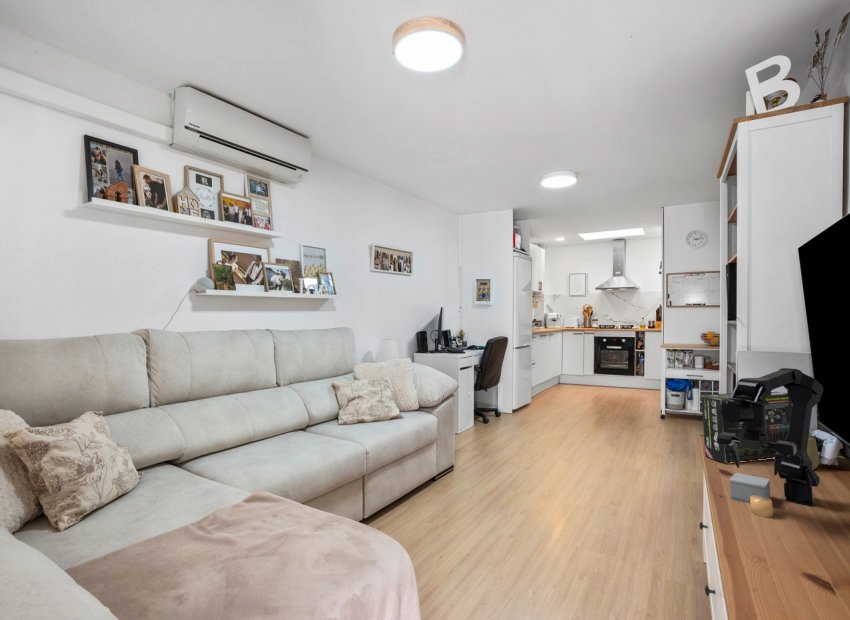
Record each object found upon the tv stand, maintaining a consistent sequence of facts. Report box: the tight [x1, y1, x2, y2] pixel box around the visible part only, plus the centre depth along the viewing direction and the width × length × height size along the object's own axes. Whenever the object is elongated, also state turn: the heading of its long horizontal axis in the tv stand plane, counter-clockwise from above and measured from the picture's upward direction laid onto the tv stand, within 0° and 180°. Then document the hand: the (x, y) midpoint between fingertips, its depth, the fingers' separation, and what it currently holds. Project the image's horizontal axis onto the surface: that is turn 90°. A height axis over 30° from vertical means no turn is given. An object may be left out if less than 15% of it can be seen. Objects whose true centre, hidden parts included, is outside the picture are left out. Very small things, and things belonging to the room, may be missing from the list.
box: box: [729, 481, 772, 504], centre depth 139 cm, size 9×9×6 cm
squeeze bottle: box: [807, 430, 820, 470], centre depth 165 cm, size 8×8×18 cm
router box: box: [700, 391, 792, 464], centre depth 180 cm, size 36×11×27 cm, turn 99°
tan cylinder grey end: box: [750, 495, 774, 519], centre depth 128 cm, size 5×5×5 cm
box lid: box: [729, 472, 771, 489], centre depth 139 cm, size 9×9×1 cm
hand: (756, 471), depth 130 cm, fingers open, 9 cm apart
